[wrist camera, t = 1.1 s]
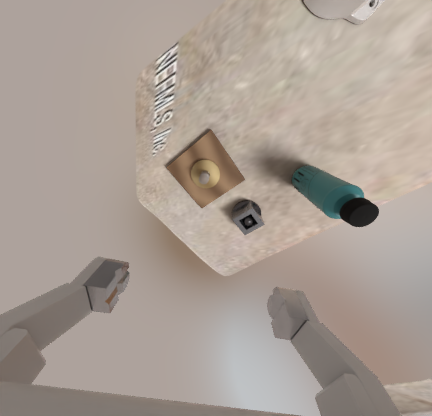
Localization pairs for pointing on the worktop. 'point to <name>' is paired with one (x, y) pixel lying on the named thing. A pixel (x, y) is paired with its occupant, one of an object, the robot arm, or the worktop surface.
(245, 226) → the square metal tube
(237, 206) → the stand
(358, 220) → the beverage bottle
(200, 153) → the brown square board
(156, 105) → the worktop surface
